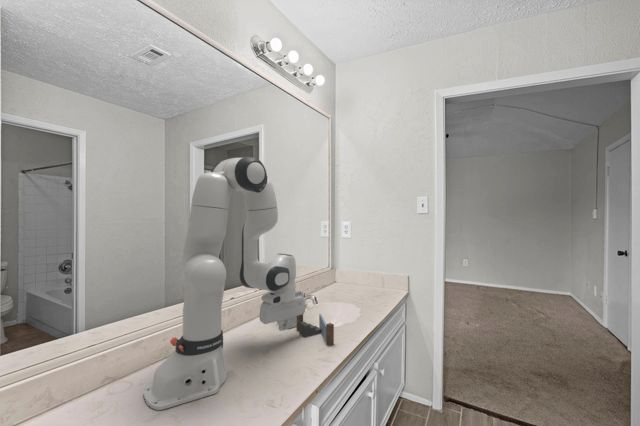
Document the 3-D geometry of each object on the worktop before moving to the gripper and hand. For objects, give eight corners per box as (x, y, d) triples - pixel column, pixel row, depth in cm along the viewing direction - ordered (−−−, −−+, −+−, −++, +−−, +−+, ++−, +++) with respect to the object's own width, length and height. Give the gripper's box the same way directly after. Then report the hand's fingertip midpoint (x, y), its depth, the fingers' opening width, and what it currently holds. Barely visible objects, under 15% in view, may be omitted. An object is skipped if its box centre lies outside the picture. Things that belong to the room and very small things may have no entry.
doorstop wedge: (305, 337, 122) (305, 326, 122) (299, 333, 126) (299, 322, 126) (321, 333, 126) (321, 322, 126) (315, 329, 130) (315, 318, 130)
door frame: (330, 346, 114) (330, 325, 114) (296, 330, 129) (296, 312, 129) (333, 344, 115) (333, 324, 115) (300, 329, 130) (300, 311, 130)
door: (325, 341, 117) (325, 326, 117) (319, 327, 132) (319, 313, 132) (330, 341, 117) (330, 326, 117) (323, 327, 132) (323, 313, 132)
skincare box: (297, 326, 134) (297, 293, 134) (285, 329, 130) (285, 295, 130) (289, 321, 141) (289, 289, 141) (277, 323, 137) (277, 291, 137)
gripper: (299, 289, 127) (298, 321, 126) (257, 297, 112) (256, 333, 112) (309, 292, 122) (308, 326, 122) (267, 300, 108) (266, 338, 108)
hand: (283, 329), depth 117 cm, fingers closed
